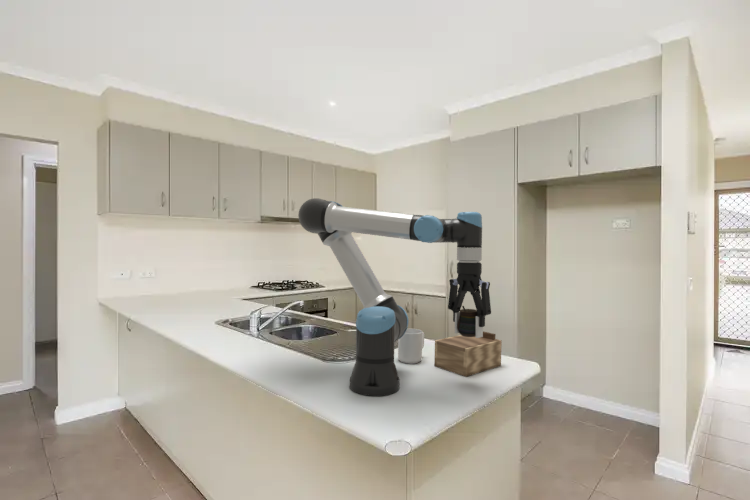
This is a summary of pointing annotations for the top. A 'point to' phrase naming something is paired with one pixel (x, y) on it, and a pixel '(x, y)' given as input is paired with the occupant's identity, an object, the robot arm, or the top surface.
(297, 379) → the top surface
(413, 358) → the mug
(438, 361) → the wooden box
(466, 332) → the mate gourd
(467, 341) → the lid
